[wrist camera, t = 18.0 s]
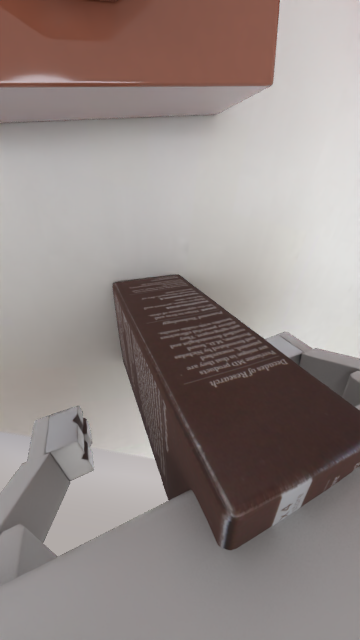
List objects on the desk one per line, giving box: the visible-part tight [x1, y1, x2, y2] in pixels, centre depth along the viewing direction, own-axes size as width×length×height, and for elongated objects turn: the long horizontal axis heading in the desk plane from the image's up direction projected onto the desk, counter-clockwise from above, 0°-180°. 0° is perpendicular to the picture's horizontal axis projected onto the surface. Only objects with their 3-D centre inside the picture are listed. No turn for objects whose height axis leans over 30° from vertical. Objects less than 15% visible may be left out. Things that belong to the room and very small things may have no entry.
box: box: [113, 275, 360, 550], centre depth 10 cm, size 6×4×12 cm
